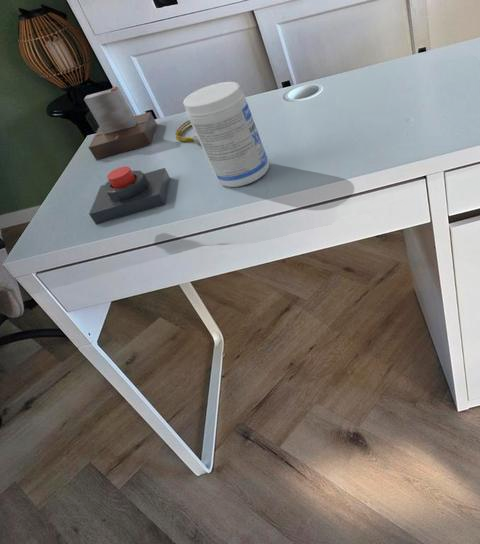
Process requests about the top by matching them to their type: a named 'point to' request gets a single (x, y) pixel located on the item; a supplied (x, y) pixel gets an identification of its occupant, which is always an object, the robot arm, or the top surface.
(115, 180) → the red button
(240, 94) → the supplement tub
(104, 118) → the tap lever
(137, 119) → the base
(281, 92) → the top surface
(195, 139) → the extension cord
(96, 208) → the button block
